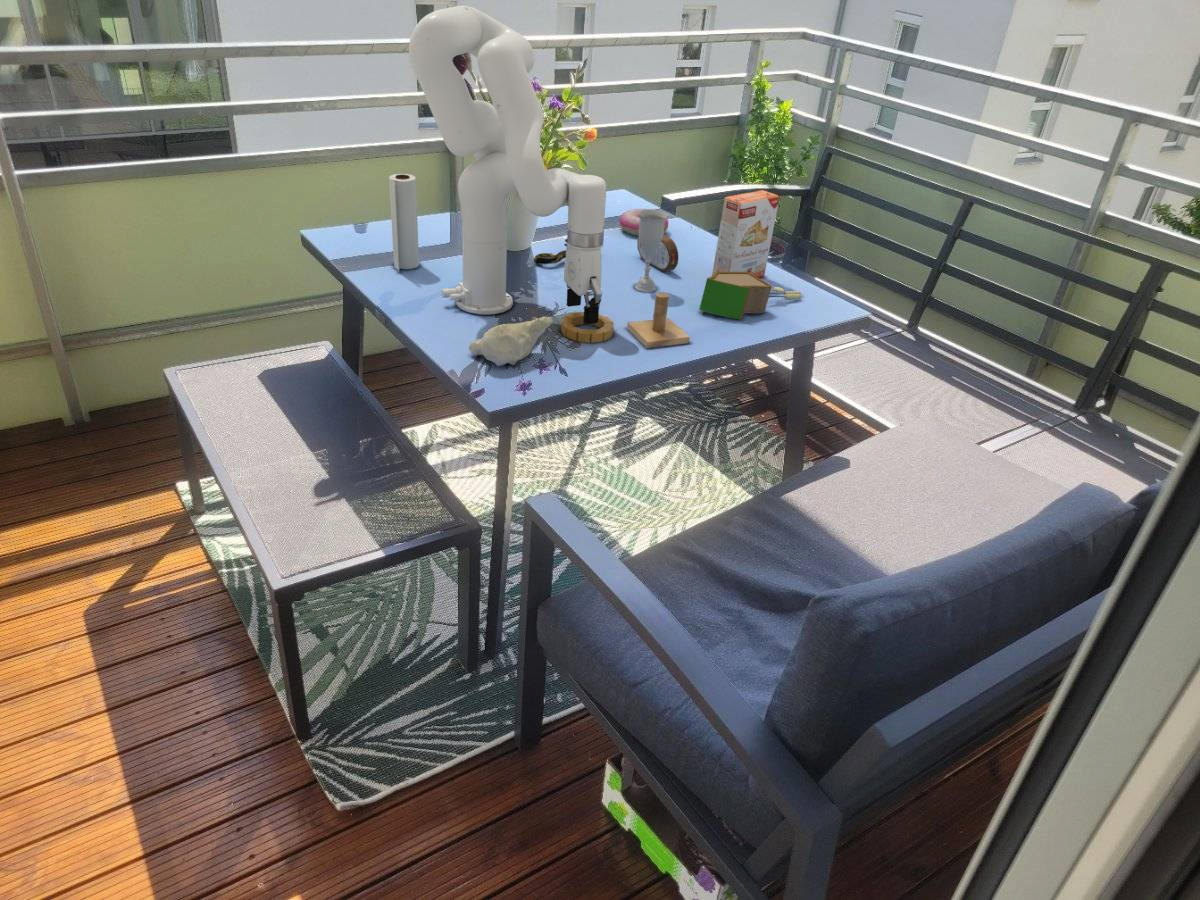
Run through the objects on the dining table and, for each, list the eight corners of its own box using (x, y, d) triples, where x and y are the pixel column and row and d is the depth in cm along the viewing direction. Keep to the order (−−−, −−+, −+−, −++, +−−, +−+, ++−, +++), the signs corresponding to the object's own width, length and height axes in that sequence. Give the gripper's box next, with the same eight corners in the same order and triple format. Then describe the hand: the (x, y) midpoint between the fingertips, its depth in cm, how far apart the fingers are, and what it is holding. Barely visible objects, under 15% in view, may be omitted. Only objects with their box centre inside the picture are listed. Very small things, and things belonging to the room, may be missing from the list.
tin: (677, 274, 226) (681, 242, 222) (667, 276, 225) (671, 243, 220) (643, 254, 237) (646, 222, 232) (633, 256, 235) (636, 224, 231)
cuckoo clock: (783, 300, 225) (685, 301, 210) (791, 270, 222) (692, 269, 207) (814, 318, 217) (715, 320, 201) (824, 287, 213) (723, 286, 198)
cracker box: (728, 288, 221) (741, 203, 210) (710, 279, 225) (722, 196, 214) (766, 277, 229) (781, 195, 218) (748, 269, 233) (762, 188, 222)
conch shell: (467, 381, 176) (524, 349, 169) (453, 346, 177) (510, 313, 169) (512, 375, 189) (567, 345, 182) (498, 343, 190) (553, 312, 182)
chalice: (657, 295, 214) (665, 221, 204) (628, 291, 215) (635, 217, 205) (661, 284, 220) (669, 211, 210) (633, 280, 221) (641, 207, 211)
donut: (618, 237, 246) (619, 219, 244) (619, 221, 257) (620, 204, 255) (667, 241, 246) (669, 223, 244) (666, 225, 258) (668, 208, 255)
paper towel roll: (409, 259, 222) (405, 171, 211) (424, 266, 219) (421, 177, 207) (384, 265, 218) (379, 175, 206) (399, 273, 214) (394, 182, 203)
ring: (572, 345, 188) (573, 336, 187) (553, 323, 197) (554, 314, 196) (620, 339, 192) (621, 330, 191) (600, 318, 201) (601, 309, 200)
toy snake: (538, 248, 220) (526, 237, 228) (537, 266, 222) (525, 255, 231) (607, 246, 227) (592, 236, 235) (605, 264, 229) (591, 253, 237)
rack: (646, 348, 190) (651, 306, 184) (626, 328, 197) (630, 287, 192) (688, 343, 193) (694, 301, 188) (667, 323, 201) (672, 283, 196)
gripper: (553, 225, 193) (551, 301, 202) (584, 253, 180) (581, 332, 189) (586, 223, 196) (583, 297, 205) (619, 250, 182) (614, 328, 191)
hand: (582, 314), depth 197 cm, fingers open, 9 cm apart
